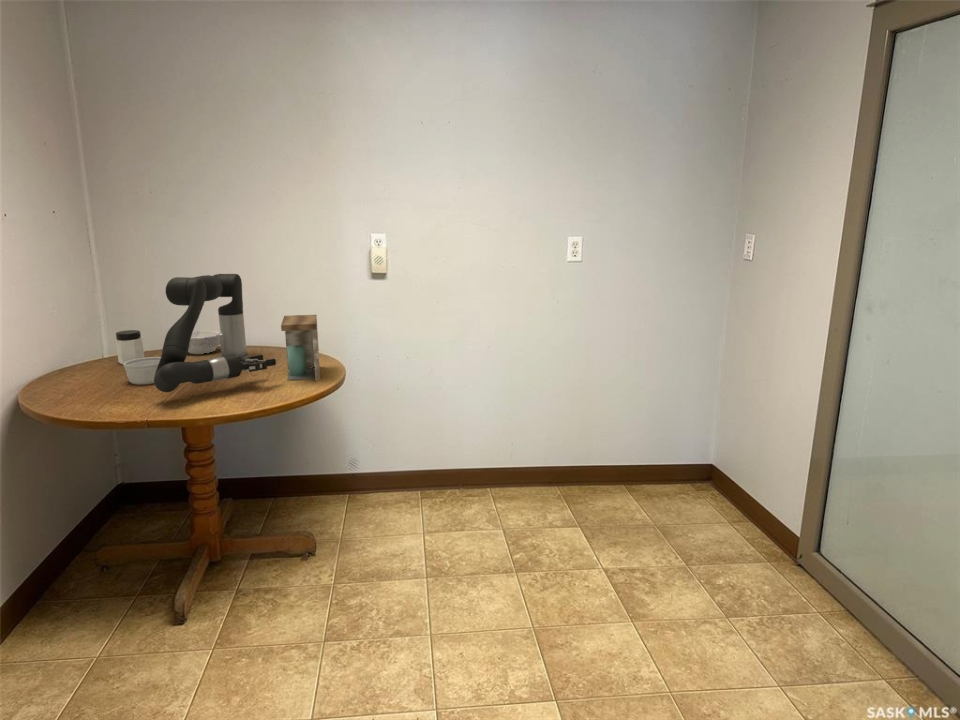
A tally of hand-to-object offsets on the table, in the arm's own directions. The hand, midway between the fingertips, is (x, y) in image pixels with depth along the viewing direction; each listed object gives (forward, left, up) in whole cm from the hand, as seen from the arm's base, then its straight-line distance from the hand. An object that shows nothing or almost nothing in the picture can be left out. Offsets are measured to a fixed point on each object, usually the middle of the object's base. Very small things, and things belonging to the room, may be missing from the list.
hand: (268, 359), depth 202 cm
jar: (-54, +41, -8) cm, 68 cm away
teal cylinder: (+9, +6, -7) cm, 13 cm away
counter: (+11, +7, -8) cm, 15 cm away
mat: (+10, +6, -8) cm, 14 cm away
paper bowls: (-31, +54, -8) cm, 63 cm away
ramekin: (-41, +11, -8) cm, 43 cm away
